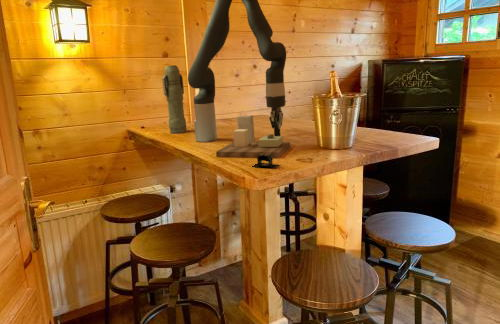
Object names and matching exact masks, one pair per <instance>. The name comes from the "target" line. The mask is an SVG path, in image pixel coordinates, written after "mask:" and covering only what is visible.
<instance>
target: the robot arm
mask: <svg viewBox="0 0 500 324" xmlns="http://www.w3.org/2000/svg"><path fill="white" fill-rule="evenodd" d="M240 1H241V2H242V4H243V6H244V8H245V10H246V18H247V22H248V26H249V28H250V30H251V32H252V34H253V36H254V37H255V39H256V44H257V47H258V51H259V54H260V56H261V57H262V59H264V61H267V62H270V67H268V68H267V69H266V71H265V98H266V99H265V100H266V107H267V108H270V109H271V110H270V112H269V113H270V115H269V122H270V124H271V125H270V126H271V128H272V129H273V135H274V136H282V135H281V128H282V126H283V117H284V112H283V110H282V108H283V107H285V106H286V89H285V77H284V71H285V66H286V61H287V49H286V46H285V45H284V43H282V42H280V41H279V42H278V41H276V42H275V41H274V42H273V40H272V39H271V38H272V37H273V35H274V34H273V33H274V32H273V29H272V26H271V25H270V24H269V21H268V19H267V18H266V16H265V14H264V12H263V10H262V8H261V6H260V2H259V1H258V0H240ZM232 2H233V0H215V3H214V4H213V5H214V6H213V8H212V11H211V15H210V18H209V21H208V24H207V26H206V28H205V31H204V34H203V38H202V40H201V42H200V46H199V48H198V51H197V53H196V56H195V59H193V62H192V64H191V66H190V68H189V71H188V74H187V82H188V85H189V86H190V88H192V89H197V90H199V91H198V93H197V94H196V95H195V96H194V97H193V106H194V107H193V108H194V117H195V118H194V119H195V120H193V124H194V125H193V127H194V134H195V141H196V142H201V143H202V142H204V143H206V142H207V143H208V142H214V141H216V140H218V131H217V120H216V119H217V118H216V108H215V107H216V106H215V97H216V78H215V73H214V71H213V69H212V68H211V67H209V65H210V64H211V62H212V60H213V59H214V58H215V56H216V55H217V54H218V53H219V52H220V51H221V50H222V48H224V46H225V44H226V41H227V38H228V36H229V33H230V9H231V5H232Z"/></svg>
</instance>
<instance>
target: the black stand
mask: <svg viewBox="0 0 500 324" xmlns="http://www.w3.org/2000/svg"><path fill="white" fill-rule="evenodd" d="M273 159H274V158H272V156H271V154H266V153H261V154H259V155H258V158H256V160H257V163H254V164H255V165H254V164H253V165H254V166H252V165H251V166H252V167H255V168H254V169H264V170H265V169H267V170H276V169H279V168H280V166H282V164H275V163H274V162H273Z"/></svg>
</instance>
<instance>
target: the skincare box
mask: <svg viewBox="0 0 500 324" xmlns="http://www.w3.org/2000/svg"><path fill="white" fill-rule="evenodd" d="M236 122H237V129H248V137H249V142H256V141H255V139H256V138H255V126H254V125H255V124H254V115H239V116H237V117H236Z"/></svg>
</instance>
